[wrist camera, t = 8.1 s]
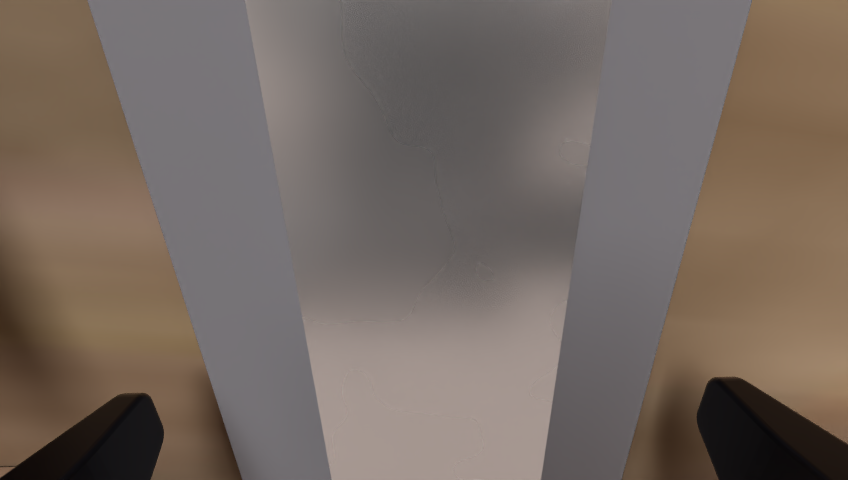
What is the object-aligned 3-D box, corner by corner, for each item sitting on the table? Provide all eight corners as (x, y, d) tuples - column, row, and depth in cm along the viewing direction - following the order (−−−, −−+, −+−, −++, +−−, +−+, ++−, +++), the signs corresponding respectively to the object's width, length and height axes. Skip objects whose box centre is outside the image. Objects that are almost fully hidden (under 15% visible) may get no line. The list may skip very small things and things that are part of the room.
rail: (487, 606, 13) (504, 751, 10) (385, 609, 13) (378, 754, 10) (563, -345, 4) (733, -724, 2) (271, -339, 4) (102, -706, 2)
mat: (576, 613, 14) (580, 630, 13) (296, 621, 14) (293, 638, 13) (875, -560, 4) (918, -610, 4) (-57, -533, 4) (-101, -581, 4)
